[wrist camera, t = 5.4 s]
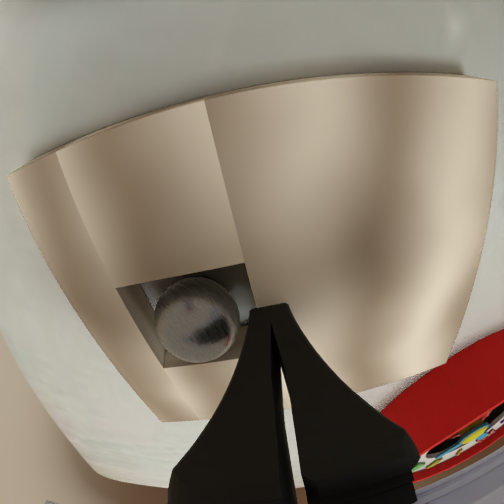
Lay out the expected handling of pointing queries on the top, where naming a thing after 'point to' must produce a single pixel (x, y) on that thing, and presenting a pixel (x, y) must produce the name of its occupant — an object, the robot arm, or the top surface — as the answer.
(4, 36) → the top surface
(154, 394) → the hole board
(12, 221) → the top surface
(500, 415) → the toy clock
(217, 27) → the top surface
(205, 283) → the steel ball
